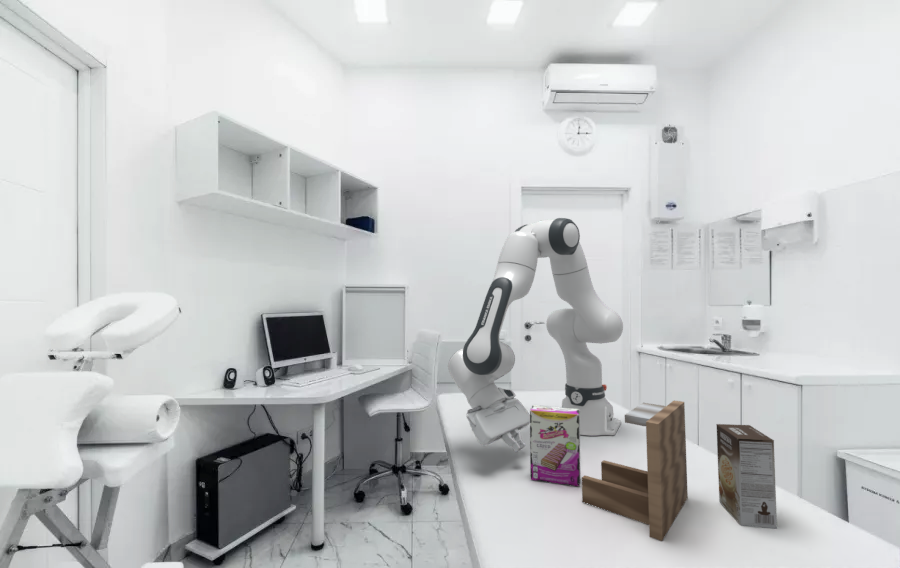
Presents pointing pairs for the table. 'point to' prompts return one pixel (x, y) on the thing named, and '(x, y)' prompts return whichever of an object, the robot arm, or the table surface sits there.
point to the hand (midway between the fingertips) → (520, 449)
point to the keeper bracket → (647, 472)
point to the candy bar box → (555, 445)
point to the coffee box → (747, 475)
